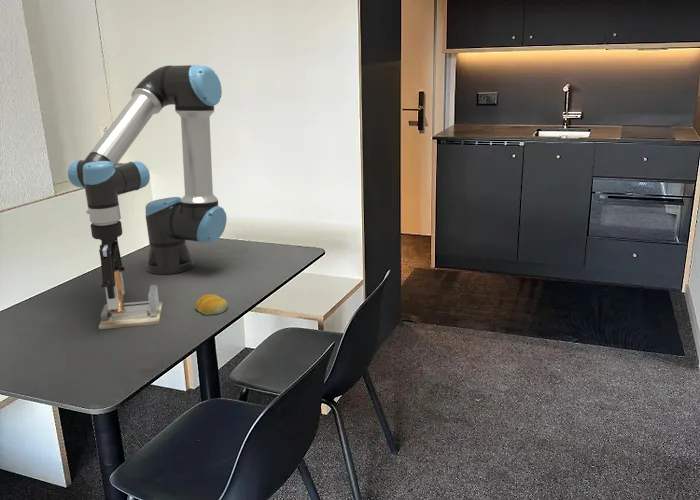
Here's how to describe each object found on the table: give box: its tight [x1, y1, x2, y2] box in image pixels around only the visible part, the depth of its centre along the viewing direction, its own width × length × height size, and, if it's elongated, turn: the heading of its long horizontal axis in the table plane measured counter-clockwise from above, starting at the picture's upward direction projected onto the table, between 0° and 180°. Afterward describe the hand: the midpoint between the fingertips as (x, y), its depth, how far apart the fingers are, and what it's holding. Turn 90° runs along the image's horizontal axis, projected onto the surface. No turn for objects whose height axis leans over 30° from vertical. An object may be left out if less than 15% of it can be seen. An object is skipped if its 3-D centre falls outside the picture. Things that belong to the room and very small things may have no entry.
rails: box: [100, 300, 149, 321], centre depth 174 cm, size 7×12×2 cm, turn 101°
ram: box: [111, 269, 160, 316], centre depth 173 cm, size 8×12×12 cm, turn 101°
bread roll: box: [194, 293, 228, 316], centre depth 179 cm, size 8×9×4 cm
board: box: [98, 301, 163, 330], centre depth 175 cm, size 14×15×1 cm
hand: (116, 301), depth 173 cm, fingers open, 10 cm apart
